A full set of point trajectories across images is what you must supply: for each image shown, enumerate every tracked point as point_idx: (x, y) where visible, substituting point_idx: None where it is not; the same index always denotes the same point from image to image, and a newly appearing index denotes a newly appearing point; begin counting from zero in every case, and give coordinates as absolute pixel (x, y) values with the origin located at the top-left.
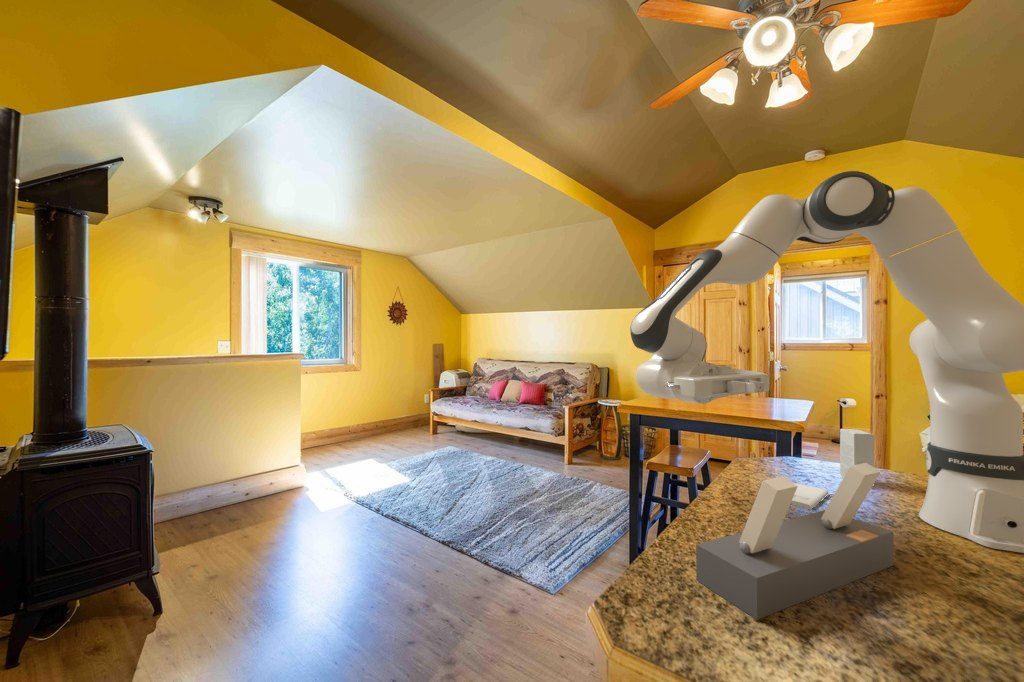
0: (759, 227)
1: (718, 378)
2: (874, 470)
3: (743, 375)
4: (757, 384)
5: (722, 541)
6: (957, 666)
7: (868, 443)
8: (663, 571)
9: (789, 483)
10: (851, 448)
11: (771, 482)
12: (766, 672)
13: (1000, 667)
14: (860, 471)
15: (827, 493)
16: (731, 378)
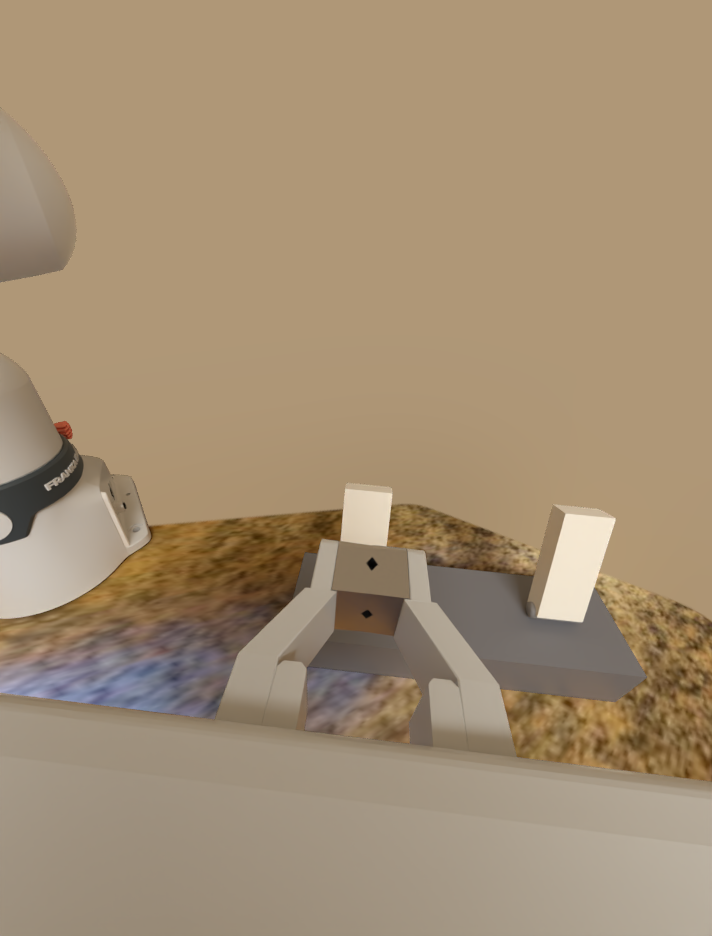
0: None
1: (686, 781)
2: (356, 484)
3: (179, 756)
4: (393, 548)
5: (590, 660)
6: (445, 518)
7: None
8: (671, 757)
9: (564, 508)
10: None
11: (600, 514)
12: (602, 574)
13: (418, 507)
14: (389, 489)
15: None
16: (456, 751)
